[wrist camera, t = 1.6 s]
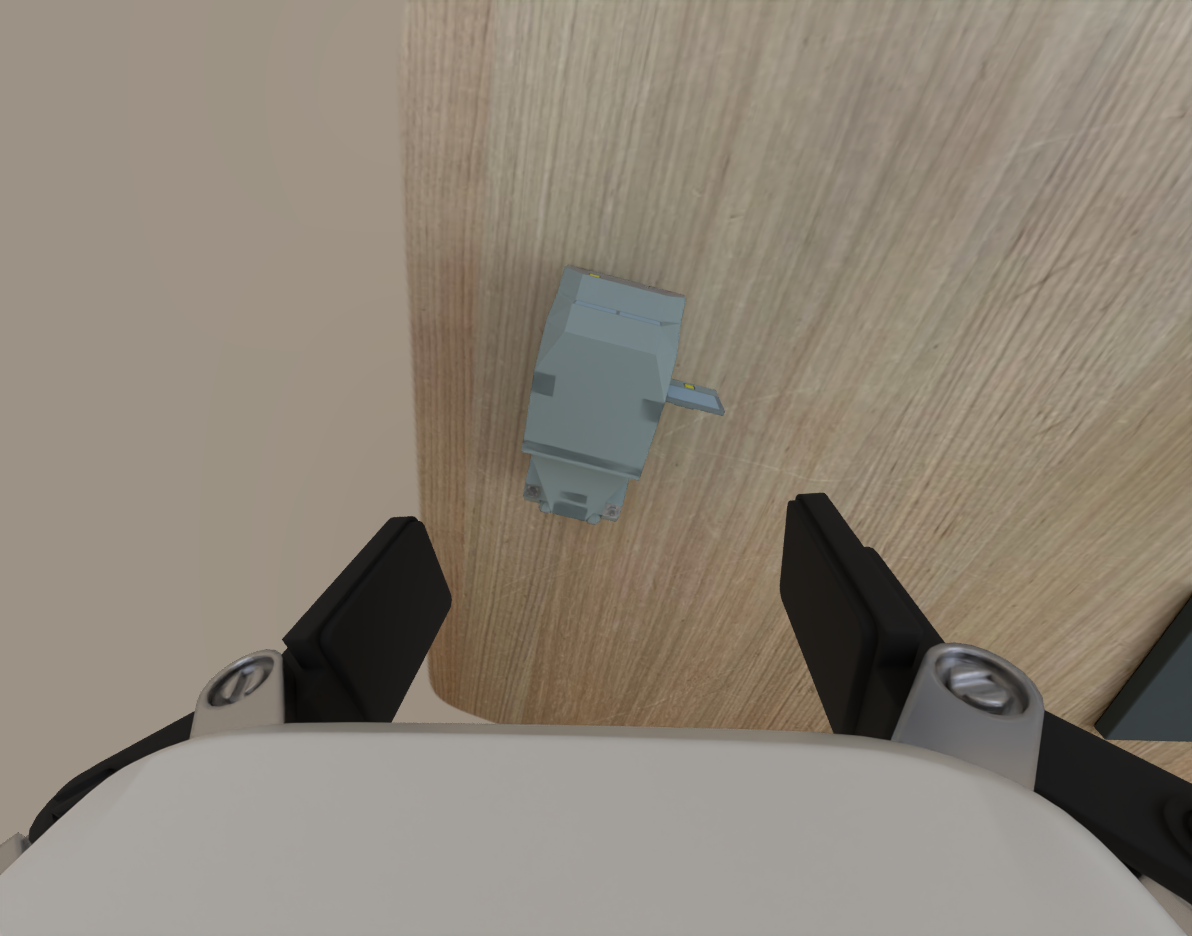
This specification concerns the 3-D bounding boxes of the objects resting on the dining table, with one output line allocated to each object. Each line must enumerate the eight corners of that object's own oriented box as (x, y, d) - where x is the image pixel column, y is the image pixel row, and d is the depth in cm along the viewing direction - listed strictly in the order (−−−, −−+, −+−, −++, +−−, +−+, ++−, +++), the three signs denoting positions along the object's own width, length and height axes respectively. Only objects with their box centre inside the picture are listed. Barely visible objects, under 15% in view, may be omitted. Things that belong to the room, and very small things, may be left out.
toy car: (534, 477, 21) (507, 539, 17) (573, 262, 16) (549, 275, 12) (658, 507, 22) (662, 576, 17) (734, 304, 17) (765, 331, 12)
